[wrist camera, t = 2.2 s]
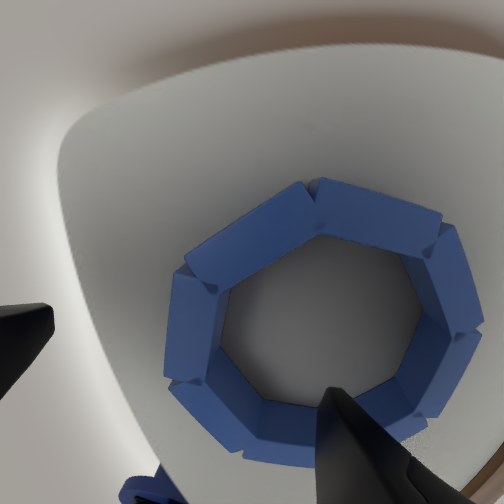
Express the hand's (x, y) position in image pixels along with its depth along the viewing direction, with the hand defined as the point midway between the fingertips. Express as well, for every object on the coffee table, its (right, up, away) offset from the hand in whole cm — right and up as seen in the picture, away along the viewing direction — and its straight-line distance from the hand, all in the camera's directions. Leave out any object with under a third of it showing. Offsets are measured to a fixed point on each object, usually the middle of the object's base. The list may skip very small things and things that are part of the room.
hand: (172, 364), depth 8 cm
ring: (+5, 0, +4) cm, 7 cm away
